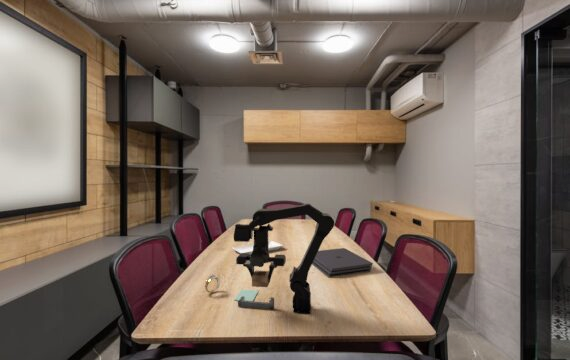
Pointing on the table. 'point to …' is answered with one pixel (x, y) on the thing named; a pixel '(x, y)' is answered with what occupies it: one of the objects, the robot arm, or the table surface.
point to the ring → (209, 281)
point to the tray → (249, 247)
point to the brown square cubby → (260, 279)
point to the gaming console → (340, 263)
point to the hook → (256, 304)
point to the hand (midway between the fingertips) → (261, 280)
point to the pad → (246, 295)
